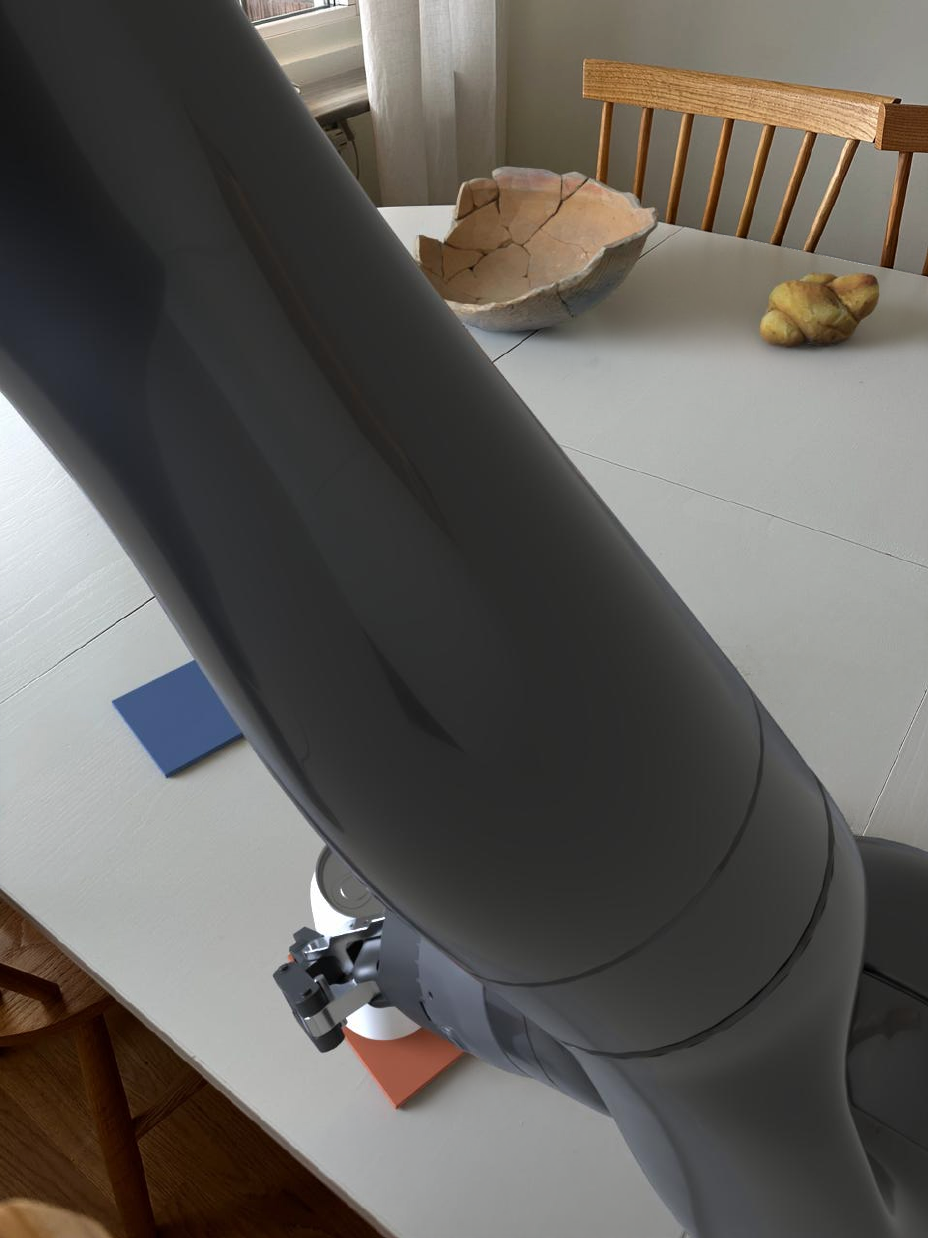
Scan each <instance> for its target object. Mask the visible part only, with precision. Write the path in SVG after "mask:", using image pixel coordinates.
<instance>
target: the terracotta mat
mask: <svg viewBox="0 0 928 1238" xmlns="http://www.w3.org/2000/svg"><path fill="white" fill-rule="evenodd" d="M286 958H287V960H288V963H289V962H292V961H294V959H293V957H292V956H291V954H290V953H289V954H288V955H287V957H286ZM342 1030H343V1032H344V1034H345V1039H344V1040H345V1041H346V1042H347V1043H348V1045H349V1046H350V1048H351V1049H352V1050H353V1052H354V1053H355V1055H356V1056H357V1057H358V1058H359V1061H361V1063H362V1064H363V1066H364V1067H365V1068H366V1070H367V1071H368V1072H369V1074H370V1075H371V1077H372V1078H373V1080H374V1081H375V1083H376V1084H377V1086H379V1088H380V1089H381V1091H382V1092H383V1093H384V1095H385V1096H386V1097H387V1099H388V1100H389V1102H390V1103H391V1104H392V1106H393V1107H394V1109H395V1110H398V1109H400V1108H401V1107H402V1106H403V1105H404V1104H405V1103H407V1102H408V1101H409V1100H411V1099H412V1098H413V1097H414V1096H416V1095H417V1094H418V1093H419V1092H420V1091H421V1090H423V1089H424V1088H425V1087H427V1085H429V1084H430V1083H431V1082H433V1081H434V1080H435V1079H436V1078H437V1077H439V1076H440V1075H441V1074H442V1073H443V1072H445V1071H446V1070H447V1069H448V1068H450V1067H451V1066H452V1065H453V1064H455V1063H456V1062H457V1061H458V1060H460V1059H461V1058H462V1057H463V1056H464V1055H466V1054H467V1052H465V1051H461V1050H460V1049H458V1048H457V1047H456V1046H455V1045H454V1044H452V1043H450V1042H449V1041H447V1040H445V1039H443V1038H441V1037H439V1036H437V1035H435V1034H434V1033H432V1032H430V1031H428V1030H426V1029H424V1028H422V1027H421V1028H419V1029H418V1030H417V1031H415V1032H413V1033H411V1034H409V1035H407V1036H404V1037H402V1038H398V1039H393V1040H374V1039H369V1038H366V1037H364V1036H361V1035H359V1034H357V1033H355V1032H354V1031H352V1030H351V1029H349V1028H348V1027H347V1026H345V1027H344V1028H342Z"/></svg>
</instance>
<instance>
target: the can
mask: <svg viewBox="0 0 928 1238" xmlns="http://www.w3.org/2000/svg"><path fill="white" fill-rule="evenodd" d="M310 904H311V911H312V916H313V921H314V926H315V931H317V932H319V933H320V934H323V935H324V936H325V937H326V936H330V935H333V934H334V933H335V932H336V931H337V930H338V929H339V928H340V927H341V926H342V925H343V924H344V923H345V922H347V921H350V920H354V919H358V918H362V917H366V916H371V915H375V914H379V913H380V912H381V911H382V910H383V909H384V908H385V906H384V905H383V904H382V903H380V902H379V901H378V900H377V899H376V898H375V897H374V896H373V895H372V894H371V893H370V892H369V891H368V890H367V889H366V888H365V887H364V886H363V885H362V884H361V883H360V882H359V880H358V879H357V878H356V877H355V876H354V875H353V874H352V873H351V872H350V871H349V870H348V869H347V868H346V867H345V866H344V865H343V864H342V863H341V861H340V860H339V859H338V858H337V857H336V856H335V854H334V853H333V852H332V851H331V850H330V848H329V847H328V846H327V845H326V844H325V845H324V846H323V848H322V849H321V851H320V852H319V855H318V858H317V860H316V863H315V868H314V872H313V876H312V879H311V883H310ZM362 940H363V942H365V940H366V939H362ZM337 960H338V959H337ZM338 962H339V960H338ZM339 964H340V962H339ZM340 966H341V964H340ZM341 967H342V966H341ZM342 969H343V967H342ZM343 971H344V969H343ZM344 972H345V971H344ZM346 1019H347V1021H348V1023H347V1025H346V1026H347V1027H348V1028H349V1029H351V1030H352V1031H354V1032H355V1033H357V1034H359V1035H361V1036H364V1037H366V1038H369V1039H374V1040H393V1039H398V1038H402V1037H404V1036H407V1035H409V1034H411V1033H413V1032H415V1031H417V1030H418V1029H419V1028H421V1026H419V1025H418V1024H416V1023H415V1022H413V1021H412V1020H411V1019H409V1018H408V1017H407V1016H406V1015H404V1014H403V1013H402V1012H401V1011H400V1010H398V1009H397V1008H396V1007H386V1008H374V1007H372V1006H370V1005H369V1004H366V1005H364V1006H363V1007H361V1008H360V1009H358V1010H357V1011H355V1012H354V1013H352V1014H351V1015H350V1016H348V1017H347V1018H346Z"/></svg>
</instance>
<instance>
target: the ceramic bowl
mask: <svg viewBox="0 0 928 1238" xmlns="http://www.w3.org/2000/svg"><path fill="white" fill-rule="evenodd" d="M491 173H492V174H491V175H492V178H489V177H475V178H473V179H470V180H467V181H463V182H462V184H461V185H460V188H459V192H458V195H457V199H456V203H455V205H454V207H453V209H452V219H451V220H450V224H449V229H448V230H447V234H446V235H445V236H444V237H443V242H442V241H441V240H439V239H437V238H432V237H428V236H426V235H424V234H417V235H416V236H414V238H413V245H414V246H413V247H414V249H413V258H414V260H415V261H416V262H417V264H418V265H419V267H420V268H421V269H422V271H423V272H424V273H425V275H426V276H427V277H428V279H429V280H430V281H431V283H432V284H433V286H434V287H435V288H436V290H437V291H438V292H439V294H440V295H441V296H442V298H443V299H444V300H445V302H446V303H447V304H448V305H449V307H450V308H451V309H452V311H453V312H454V313H455V314H456V316H457V317H458V318H459V320H460V321H461V322H462V323H463V324H464V325H467V326H469V327H470V326H471V327H474V328H478V329H482V330H488V331H494V332H501V333H502V332H503V333H512V332H522V331H529V330H541V329H544V328H547V327H553V326H556V325H560V324H562V323H565V322H568V321H570V320H571V319H573V318H576V317H578V316H581V315H583V314H584V313H587V312H588V311H589V310H591V309H593V308H595V307H597V306H598V305H599V304H600V303H602V302H604V301H605V300H606V299H607V298H608V297H610V296H611V295H612V294H613V293H614V292H615V291H616V290H617V289H618V288H619V287H620V286H621V285H622V284H623V283H624V282H625V280H626V279H627V277H628V275H629V274H630V273H631V271H632V270H633V268H634V266H635V265H636V263H637V262H638V260H639V259H640V256H641V255H642V251H643V249H644V248H645V245H646V243H647V239H648V237H649V236H650V235H651V234H652V233H653V232H654V231H655V230H656V229H657V228H658V226H659V222H658V218H659V216H660V212H659V210H658V209H657V208H656V207H653V206H652V207H647V208H645V207H643V206H642V204H641V201H640V199H639V198H638V197H637V196H636V195H635V194H634V193H632V192H627V191H626V192H625V191H624V192H623V191H620V190H617V189H615V188H614V187H611V186H609V185H607V184H606V183H603V182H601V181H599V180H598V179H594V178H591V177H589V176H587V175H585V174H584V173H581V172H578V171H572V172H571V171H570V172H566V173H563V174H558V173H555V172H554V171H551V170H549V169H542V168H534V167H533V168H532V167H520V166H519V167H517V166H500V167H497V168H495V169H494V170H492V171H491Z"/></svg>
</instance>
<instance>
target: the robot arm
mask: <svg viewBox="0 0 928 1238" xmlns="http://www.w3.org/2000/svg"><path fill="white" fill-rule="evenodd" d="M0 393H1V395H3V397H4V398H5V399H6V400H7V401H8V402H9V404H10V405H11V406H12V407H13V408H14V409H15V411H16V412H17V413H18V415H19V416H20V417H21V418H22V419H23V421H24V422H25V424H27V426H28V427H29V428H30V429H31V431H32V432H33V433H34V434H35V435H36V437H37V438H38V440H40V441H41V443H42V444H43V445H44V447H45V448H46V449H47V450H48V451H49V453H50V454H51V455H52V457H54V458H55V460H56V461H57V463H58V464H59V465H60V466H61V467H62V468H63V469H64V471H65V472H66V473H67V475H68V476H69V477H70V478H71V479H72V481H73V482H74V483H75V485H76V486H77V487H78V489H79V490H80V492H81V493H82V495H83V496H84V498H86V500H87V501H88V503H89V504H90V505H91V507H92V508H93V510H94V511H95V512H96V514H97V515H98V516H99V518H100V520H101V521H102V522H103V524H104V525H105V526H106V528H107V529H108V530H109V532H110V533H111V534H112V536H113V537H114V539H115V540H116V541H117V543H118V544H119V545H120V547H121V548H122V550H123V551H124V552H125V554H126V555H127V557H128V558H129V559H130V561H131V562H132V564H133V566H134V567H135V569H136V570H137V571H138V573H139V574H140V576H141V577H142V579H143V580H144V582H145V583H146V585H147V587H148V588H149V590H150V591H151V593H152V594H153V596H154V598H155V600H156V601H157V602H158V604H159V606H160V607H161V609H162V610H163V613H164V614H165V615H166V617H167V618H168V620H169V622H170V623H171V624H172V626H173V628H174V629H175V631H176V633H177V634H178V636H179V637H180V639H181V641H182V643H183V644H184V645H185V647H186V649H187V650H188V652H189V654H190V655H191V656H192V658H193V660H195V661H196V663H197V664H198V666H199V667H200V669H201V670H202V672H203V673H204V675H205V677H206V678H207V680H208V681H209V683H210V684H211V686H212V687H213V689H214V690H215V692H216V694H217V695H218V697H219V698H220V700H221V701H222V703H223V704H224V706H225V708H226V709H227V711H228V712H229V714H230V715H231V717H232V718H233V720H234V722H235V723H236V725H237V726H238V728H239V729H240V731H241V732H242V734H243V735H244V736H243V737H244V738H245V740H246V741H247V742H248V744H249V745H250V747H251V748H252V750H253V751H254V752H255V754H256V756H257V757H258V758H259V760H260V761H261V762H262V764H263V765H264V767H265V768H266V769H267V771H268V773H269V774H270V775H271V776H272V777H273V779H274V780H275V781H276V783H277V785H279V787H280V788H281V790H283V792H284V793H285V794H286V796H287V798H288V799H289V800H290V801H291V803H292V804H293V805H294V806H295V807H296V809H297V810H298V811H299V813H300V814H301V816H303V819H304V820H305V821H306V822H307V823H308V824H309V826H310V827H311V828H312V829H313V831H314V832H315V833H316V834H317V835H318V837H319V838H320V839H321V840H322V841H323V843H324V844H325V845H327V846H328V847H329V848H330V850H331V851H332V852H333V853H334V854H335V856H336V857H337V858H338V859H339V860H340V861H341V863H342V864H343V865H344V866H345V867H346V868H347V869H348V870H349V871H350V872H351V873H352V874H353V875H354V876H355V877H356V878H357V879H358V880H359V882H360V883H361V884H362V885H363V886H364V887H365V888H366V889H367V890H368V891H369V892H370V893H371V894H372V895H373V896H374V897H375V898H376V899H377V900H378V901H379V902H380V903H382V904H383V905H384V906H385V908H384V909H383V910H382V911H381V912H380V913H379V914H375V915H371V916H366V917H362V918H358V919H354V920H350V921H347V922H345V923H344V924H343V925H342V926H341V927H340V928H339V929H338V930H337V931H336V932H335V933H334V934H333V935H330V936H326V937H325V936H324V935H323V934H320V933H319V932H317V931H316V930H315V929H312V928H309V927H307V926H303V927H301V928H300V929H299V930H297V931H296V932H294V933H293V934H292V937H293V939H294V941H295V942H294V943H293V944H292V945H290V946H289V948H288V952H289V955H290V954H291V956H292V957H293V959H294V961H292V962H289V961H288V962H285V963H283V964H281V965H280V966H278V968H277V970H275V971H274V972H273V974H272V978H273V979H274V982H275V984H276V985H277V987H278V988H279V989H280V990H281V992H282V994H283V996H284V998H285V1000H286V1002H287V1004H288V1006H289V1007H290V1009H291V1013H292V1015H293V1018H294V1019H295V1021H296V1023H297V1024H298V1026H299V1027H300V1028H301V1029H302V1030H303V1032H304V1034H306V1036H307V1037H308V1038H309V1040H310V1041H311V1042H312V1044H313V1045H314V1046H315V1048H317V1050H318V1051H319V1052H320V1053H322V1054H324V1053H325V1054H326V1053H328V1052H330V1051H333V1050H335V1049H336V1048H338V1047H339V1046H340V1045H341V1044H342V1043H343V1042H344V1040H346V1039H345V1034H344V1032H343V1030H342V1028H344V1027H345V1026H346V1025H347V1023H348V1021H347V1019H346V1018H347V1017H348V1016H350V1015H351V1014H352V1013H354V1012H355V1011H357V1010H358V1009H360V1008H361V1007H363V1006H364V1005H366V1004H369V1005H370V1006H372V1007H374V1008H386V1007H396V1008H397V1009H398V1010H400V1011H401V1012H402V1013H403V1014H404V1015H406V1016H407V1017H408V1018H409V1019H411V1020H412V1021H413V1022H415V1023H416V1024H418V1025H419V1026H421V1027H422V1028H424V1029H426V1030H428V1031H430V1032H432V1033H434V1034H435V1035H437V1036H439V1037H441V1038H443V1039H445V1040H447V1041H449V1042H450V1043H452V1044H454V1045H455V1046H456V1047H457V1048H458V1049H460V1050H461V1051H465V1052H467V1053H469V1054H470V1055H472V1056H474V1057H476V1058H478V1059H479V1060H482V1061H483V1062H485V1063H487V1064H489V1065H491V1066H493V1067H495V1068H497V1069H500V1070H502V1071H504V1072H507V1073H510V1074H514V1075H517V1076H520V1077H524V1078H529V1079H532V1080H533V1079H534V1080H536V1081H539V1082H540V1083H542V1084H544V1085H546V1086H547V1087H549V1088H551V1089H553V1090H555V1091H557V1092H559V1093H561V1094H563V1095H565V1096H567V1097H569V1098H570V1099H573V1100H574V1101H576V1102H578V1103H580V1104H581V1105H583V1106H585V1107H587V1108H589V1109H591V1110H593V1111H595V1112H597V1113H599V1114H601V1115H603V1116H606V1117H608V1118H611V1119H612V1120H613V1121H614V1123H615V1125H616V1126H617V1129H618V1130H619V1133H620V1134H621V1136H622V1138H623V1140H624V1142H625V1143H626V1145H627V1147H628V1149H629V1150H630V1153H631V1154H632V1156H633V1158H634V1160H635V1161H636V1164H637V1165H638V1166H639V1168H640V1170H641V1172H642V1173H643V1175H644V1177H645V1178H646V1180H647V1182H648V1183H649V1184H650V1185H651V1187H652V1189H653V1190H654V1191H655V1193H656V1194H657V1196H658V1197H659V1199H660V1200H661V1201H662V1203H663V1204H664V1205H665V1207H666V1209H667V1210H668V1211H669V1212H670V1214H671V1215H672V1217H673V1218H674V1220H675V1221H676V1222H677V1223H678V1225H679V1226H680V1227H681V1228H682V1230H683V1231H684V1232H685V1233H686V1235H687V1236H688V1237H689V1238H928V851H927V850H924V849H922V848H919V847H916V846H913V845H910V844H906V843H903V842H899V841H894V840H890V839H885V838H881V837H874V836H865V835H859V834H854V833H853V832H852V829H851V827H850V826H849V823H848V822H847V820H846V818H845V816H844V813H843V812H842V811H841V810H840V808H839V806H838V805H837V803H836V801H835V800H834V799H833V797H832V795H831V794H830V792H829V791H828V789H827V788H826V786H825V785H824V783H823V782H822V781H821V780H820V778H819V777H818V775H816V774H815V772H814V770H812V768H811V767H810V766H809V765H808V763H807V762H806V761H805V759H804V757H803V756H802V755H801V753H800V752H799V750H798V749H797V748H796V747H795V745H794V744H793V743H792V741H791V740H790V738H789V737H788V735H786V733H785V731H783V729H782V728H781V727H780V725H779V724H778V723H777V721H776V720H775V718H774V716H772V714H771V713H770V712H769V710H768V709H767V708H766V707H765V705H764V704H763V703H762V701H761V700H760V699H759V697H758V696H757V695H756V693H755V692H754V690H753V689H752V688H751V687H750V685H749V683H747V681H746V680H745V678H744V677H743V676H742V674H741V673H740V671H738V669H737V668H736V666H735V665H734V663H732V661H731V660H730V658H729V657H728V656H727V655H726V653H725V652H724V651H723V650H722V648H721V646H719V645H718V643H717V642H716V640H715V639H713V637H712V636H711V634H710V633H709V632H708V631H707V629H706V628H705V627H704V625H703V624H702V623H701V621H700V620H699V619H698V617H697V616H696V615H695V614H694V613H693V611H692V610H691V609H690V608H689V606H688V605H687V604H686V602H685V601H684V600H683V599H682V597H681V596H680V595H679V594H678V592H677V591H676V589H675V588H674V587H673V586H672V585H671V584H670V582H669V580H668V579H666V577H665V576H664V575H663V574H662V572H661V571H660V569H659V568H658V567H657V566H656V564H655V563H654V562H653V561H652V559H651V558H650V557H649V556H648V554H647V553H646V552H645V551H644V549H643V548H642V547H641V546H640V545H639V543H638V542H637V541H636V540H635V538H634V537H633V536H632V534H631V533H630V532H629V531H628V530H627V528H626V527H625V526H624V524H623V523H622V522H621V521H620V519H619V518H618V517H617V515H615V513H614V512H613V511H612V509H611V508H610V507H609V505H608V504H607V503H606V501H604V499H603V498H602V497H601V496H600V494H599V493H598V492H597V491H596V490H595V488H594V487H593V486H592V485H591V483H590V482H589V481H588V480H587V478H586V477H585V476H584V475H583V474H582V472H581V471H580V469H579V468H578V467H577V466H576V465H575V464H574V462H573V461H572V459H570V457H569V456H568V454H566V452H565V451H564V450H563V449H562V447H561V446H560V445H559V444H558V442H557V440H555V438H554V437H553V436H552V435H551V433H550V432H549V431H548V429H547V428H546V427H545V426H544V425H543V423H542V422H541V421H540V420H539V418H538V417H537V416H536V415H535V414H534V412H533V411H532V410H531V408H530V407H529V406H528V405H527V403H526V401H524V400H523V398H522V397H521V396H520V394H519V393H518V392H517V391H516V390H515V388H514V387H513V386H512V385H511V384H510V382H509V381H508V379H507V378H506V377H505V376H504V374H503V373H502V372H501V371H500V369H499V368H498V367H497V366H496V364H495V363H494V362H493V361H492V359H491V358H490V357H489V356H488V354H487V353H486V352H485V350H484V349H483V348H482V346H480V344H479V342H477V340H476V338H475V337H474V336H473V335H472V334H471V332H470V331H469V330H468V329H467V327H466V326H465V324H464V323H462V322H461V321H460V320H459V318H458V317H457V316H456V314H455V313H454V312H453V311H452V309H451V308H450V307H449V305H448V304H447V303H446V302H445V300H444V299H443V298H442V296H441V295H440V294H439V292H438V291H437V290H436V288H435V287H434V286H433V284H432V283H431V281H430V280H429V279H428V277H427V276H426V275H425V273H424V272H423V271H422V269H421V268H420V267H419V265H418V264H417V262H416V261H415V260H414V256H413V255H412V254H411V253H410V251H409V250H408V249H407V248H406V246H405V245H404V244H403V242H402V240H400V238H399V236H398V235H397V234H396V233H395V231H394V230H393V229H392V227H391V226H390V224H389V223H388V221H387V220H386V219H385V217H384V216H383V215H382V213H381V212H380V211H379V209H378V208H377V206H376V205H375V204H374V202H373V200H372V199H371V197H370V196H369V195H368V193H367V192H366V190H365V189H364V187H363V185H362V184H361V183H360V182H359V180H358V178H357V177H356V176H355V174H354V173H353V171H352V170H351V169H350V167H349V165H348V164H347V163H346V161H345V160H344V159H343V157H342V156H341V154H340V153H339V151H338V150H337V148H336V147H335V145H334V144H333V143H332V141H331V139H330V138H329V136H327V133H326V132H325V130H323V128H322V127H321V125H320V124H319V122H318V120H317V119H316V118H315V116H314V115H313V113H312V112H311V110H310V109H309V107H308V106H307V104H306V102H305V101H304V100H303V98H302V97H301V94H300V93H299V92H298V90H297V89H296V87H295V86H294V84H293V83H292V81H291V80H290V78H289V76H288V75H287V74H286V72H285V71H284V69H283V68H282V66H281V65H280V63H279V61H278V59H277V58H276V57H275V55H274V54H273V52H272V51H271V49H270V48H269V46H268V44H267V43H266V42H265V40H264V38H263V37H262V35H261V34H260V32H259V31H258V30H257V28H256V26H255V25H254V24H253V22H252V21H251V19H250V17H249V16H248V15H247V12H246V11H245V10H244V8H243V7H242V5H241V3H240V2H239V0H0ZM362 939H366V940H365V942H363V940H362ZM337 959H338V960H339V962H340V964H341V966H342V967H343V969H344V971H345V972H344V971H343V969H342V967H341V966H340V964H339V962H338V960H337ZM467 1053H466V1054H467Z"/></svg>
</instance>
